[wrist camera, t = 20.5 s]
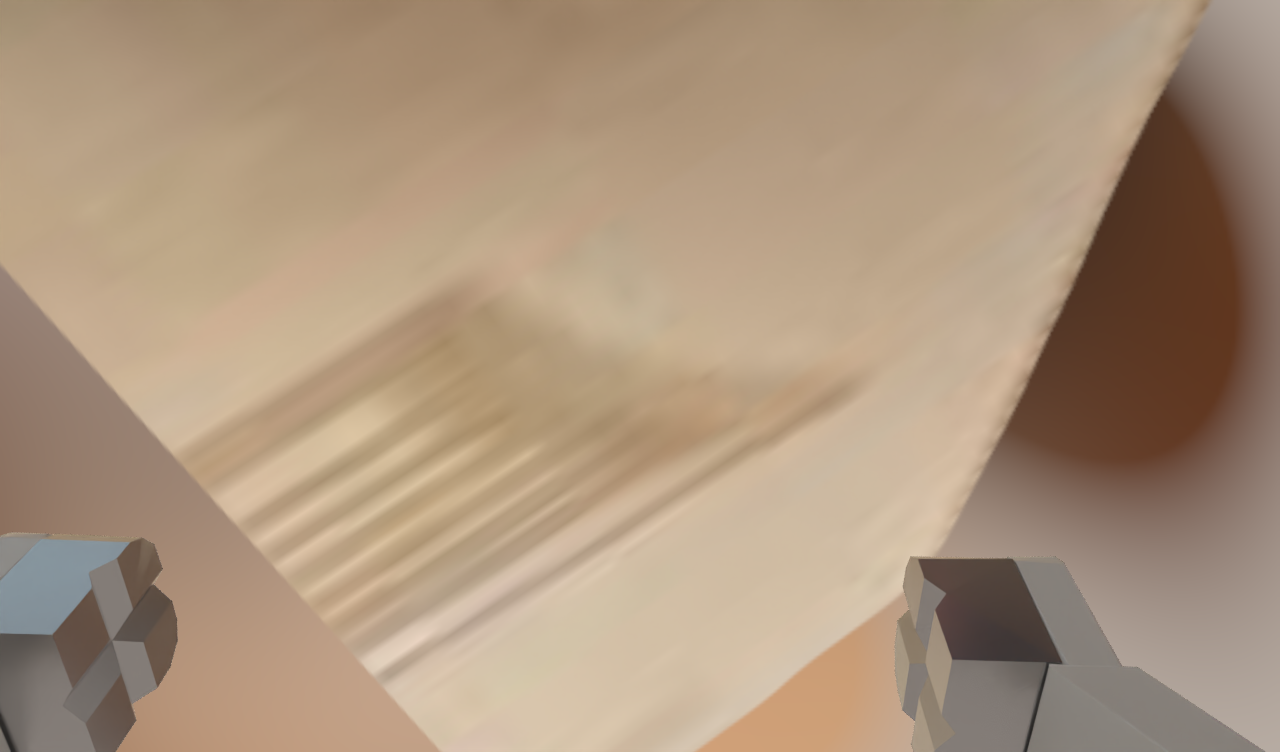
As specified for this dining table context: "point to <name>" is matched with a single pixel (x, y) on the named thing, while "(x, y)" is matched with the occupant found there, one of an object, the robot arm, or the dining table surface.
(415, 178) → the dining table surface
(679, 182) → the dining table surface
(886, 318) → the dining table surface
